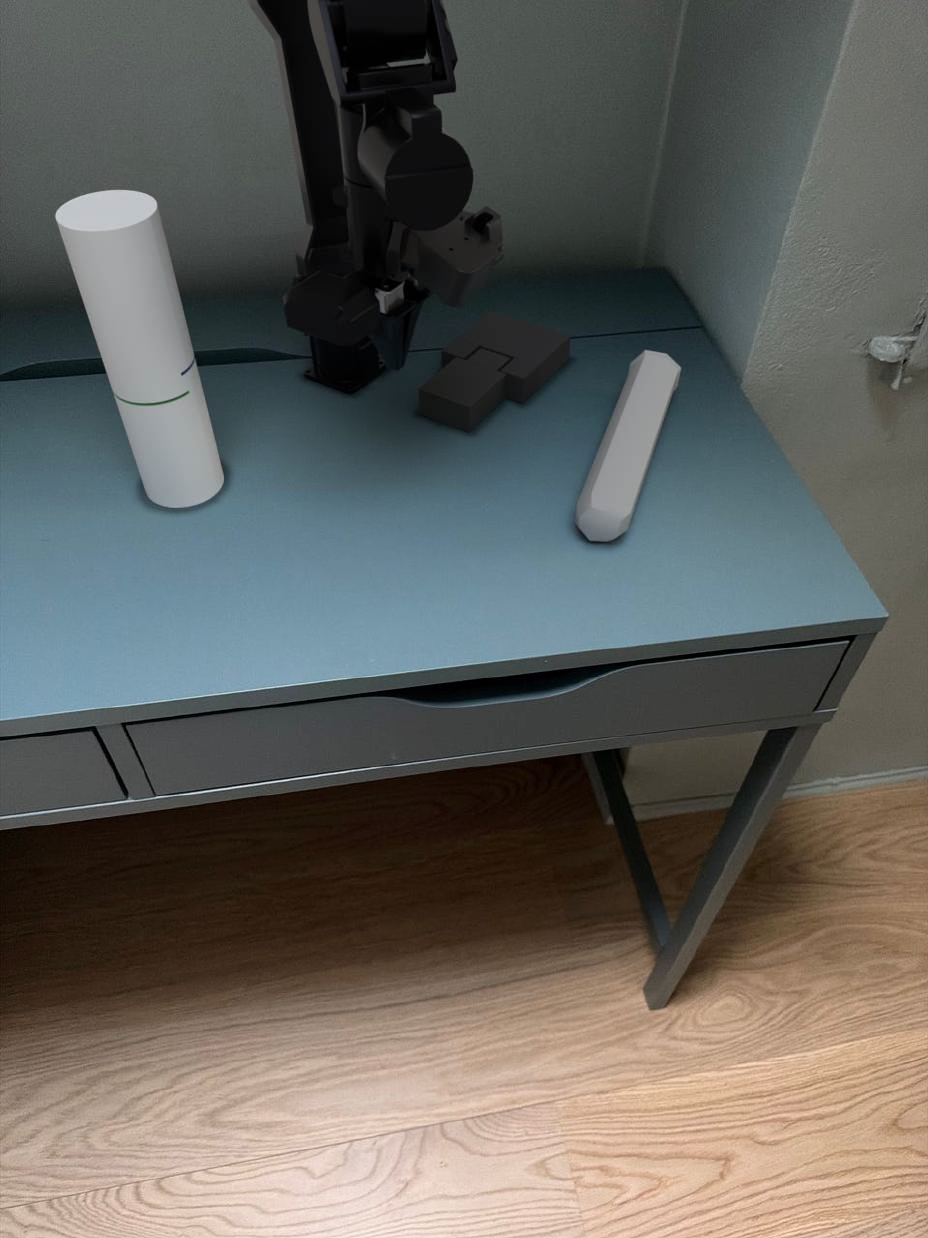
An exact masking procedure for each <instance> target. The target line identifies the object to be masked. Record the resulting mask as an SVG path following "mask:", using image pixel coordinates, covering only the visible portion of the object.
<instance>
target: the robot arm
mask: <svg viewBox="0 0 928 1238" xmlns="http://www.w3.org/2000/svg"><path fill="white" fill-rule="evenodd" d="M247 2H248V5H249V8H250V9H251V10H252V12H253V13H254V15H255V16H256V17H257V19H258V20H259V21H260V23H261V24H262V26H263V27H264V28H265V30H266V31H267V32H268V34H269V35H270V37H271V38H272V39H273V41H274V47H275V51H276V57H277V62H278V68H279V74H280V80H281V85H282V90H283V91H282V92H283V96H284V103H285V110H286V114H287V119H288V125H289V131H290V136H291V143H292V148H293V153H294V159H295V164H296V165H295V166H296V171H297V176H298V182H299V187H300V194H301V200H302V205H303V210H304V211H303V212H304V218H305V226H304V228H303V231H302V233H301V236H300V239H299V242H298V245H297V247H296V251H295V262H296V267H297V273H298V274H294V275H293V281H292V285H291V288H290V289H289V290H288V291H287V292H286V293H285V294H284V295H283V296H282V304H283V310H284V318H285V323H286V327H287V328H289V329H292V330H295V331H298V332H300V333H303V335H304V336H305V337H309V346H310V352H311V359H312V365H311V366H309V367H308V368H306V369H305V370H304V371H303V374H304V377H305V378H307V379H310V380H313V381H315V382H318V383H320V384H322V385H326V386H328V387H331V388H334V389H336V390H339V391H342V392H344V393H347V394H353V393H355V392H356V391H357V390H359V389H360V388H361V387H362V386H364V385H365V384H366V383H368V382H369V381H371V380H372V379H373V378H374V377H376V376H377V375H378V374H380V372H382V371H383V370H384V369H386V368H387V367H388V368H389V369H391V370H392V371H396V372H398V371H400V370H402V368H404V367H405V365H406V361H407V357H408V353H409V350H410V347H411V344H412V340H413V336H414V332H415V329H416V325H417V323H418V319H419V317H420V313H421V310H422V307H423V305H424V304H425V302H426V301H427V300H428V299H429V298H431V297H432V296H433V295H434V294H435V295H436V296H437V297H438V299H439V301H440V302H441V303H443V304H444V305H446V306H448V307H451V308H461V307H463V306H464V305H465V304H466V303H467V302H468V300H470V299H471V298H473V297H474V296H475V295H476V294H477V293H478V292H479V293H480V292H483V290H484V289H485V288H486V286H487V282H488V280H489V277H490V275H491V272H492V269H493V267H494V266H495V265H497V264H498V263H499V262H500V261H502V260H503V259H504V256H505V254H504V251H503V245H504V243H503V241H504V239H503V224H502V216H501V215H500V213H498V212H497V211H496V210H493V209H492V208H491V207H489V206H487V205H485V206H483V207H482V208H481V209H479V210H478V211H476V212H475V213H474V212H471V211H468V210H464V208H465V207H466V205H467V204H468V202H469V199H470V196H471V194H472V191H473V185H474V168H473V167H472V164H471V160H470V157H469V154H468V153H467V151H466V150H465V148H464V147H463V145H462V144H461V143H460V142H459V141H458V140H457V139H456V138H455V137H454V136H453V135H452V134H451V133H450V132H449V131H448V130H447V129H446V128H445V127H444V126H443V114H442V113H443V112H442V110H441V109H440V108H439V107H438V106H437V105H436V104H435V97H434V96H437V95H444V94H445V95H446V94H453V93H456V91H457V81H456V77H455V69H456V67H457V63H458V61H459V58H458V54H457V49H456V47H455V42H454V39H453V36H452V31H451V28H450V24H449V19H448V17H447V12H446V8H445V5H444V2H443V0H247ZM426 56H428V60H429V62H428V61H427V62H421V63H413V64H404V65H403V64H401V65H394V66H391V65H390V63H400V62H408V61H417V60H424V59H425V57H426ZM380 356H381V358H382V359H380Z"/></svg>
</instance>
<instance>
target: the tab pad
mask: <svg viewBox="0 0 928 1238" xmlns="http://www.w3.org/2000/svg"><path fill="white" fill-rule="evenodd" d="M508 363H510V358H509V357H506V356H503V355H500V354H497V353H494V352H491V351H487V350H484V349H481V348H480V349H479V350H478V351H477V352H476V353H475V354H473V355H472V356H471V357H470V358H469V359H467V360H464V359H461V358H458V357H456V358H455V359H454V360H452V361H451V362H450V363H449V364H448V365H446V366H445V367H444V368H443V369H442V368H441V369H440V370H439V371H438V372H437V373H435V374H434V375H432V377H431V378H429V379H427V381H426V382H425V383H423V384H422V385H420V387H418V390H417V391H418V411H419V415H421V416H423V417H426V418H429V419H432V420H434V421H436V422H440V423H443V424H445V425H447V426H450V427H453V428H455V429H458V430H461V431H464V432H467V433H471V432H472V431H473V430H474V429H475V428H476V427H477V426H479V424H481V422H482V421H484V419H485V418H487V417H488V416H489V415H490V414H491V413H493V411H494V410H496V408H498V406H500V405H501V404H502V403H503V402H504V401H505V400H506V398H505V392H506V374H505V373H502V372H500V371H501V370H502V369H503V368H504V367H505V366H506V365H507V364H508Z"/></svg>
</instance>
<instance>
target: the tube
mask: <svg viewBox="0 0 928 1238" xmlns="http://www.w3.org/2000/svg"><path fill="white" fill-rule="evenodd" d="M681 371H682V367H681V366H680V365H679V364H678V363H677V362H676V361H675V360H674V359H673V358H672V357H671V356H669V354H668V353H665V352H659V351H654V350H649V349H645V350H643V351H642V352H641V353H640V354H638V356H636V357H635V358H634V359H633V360H632V361H631V362H630V364H629V369H628V375H627V377H626V380H625V382H624V385H623V387H622V389H621V393H620V395H619V397H618V400H617V403H616V405H615V407H614V410H613V412H612V415H611V417H610V420H609V423H608V425H607V428H606V430H605V433H604V435H603V437H602V440H601V442H600V444H599V447H598V450H597V452H596V455H595V457H594V460H593V463H592V465H591V468H590V470H589V473H588V474H587V477H586V480H585V483H584V485H583V487H582V489H581V492H580V495H579V498H578V499H577V503H576V507H575V514H574V515H575V516H574V523H575V525H576V526H577V527H578V529H579V530H580V531H581V532H582V534H584V536H585V537H586V538H587V540H589V542H612V541H613V540H615V539H616V538H618V537H619V536H621V535H622V534H624V533H625V532H627V531H628V529H629V527H630V523H631V521H632V517H633V515H634V512H635V509H636V506H637V502H638V499H639V497H640V493H641V490H642V487H643V485H644V481H645V479H646V475H647V472H648V470H649V469H648V468H649V466H650V463H651V461H652V457H653V454H654V451H655V448H656V445H657V442H658V439H659V436H660V433H661V430H662V427H663V424H664V422H665V418H666V415H667V412H668V408H669V406H670V403H671V401H672V397H673V393H674V391H676V390H677V389H678V386H679V381H680V377H681Z"/></svg>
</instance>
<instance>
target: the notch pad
mask: <svg viewBox="0 0 928 1238" xmlns="http://www.w3.org/2000/svg"><path fill="white" fill-rule="evenodd" d="M571 338H572V336H571V334H567V333H565V332H562V331H558V330H556V329H552V328H550V327H549V328H548V327H547V326H542V325H540V324H536V323H534V322H530V321H527V320H523V319H520V318H517V317H514V316H511V315H507V314H505V313H501V312H497V311H495V310H489V311H488V312H487V313H486V314H484V315H483V316H482V317H481V318H479V319H478V320H477V321H475V322H474V323H473V324H472V325H471V326H470V327H468V328H467V329H465V330H464V332H462V333H461V334H459V335H458V336H457V337H456V338H454V339H453V340H452V341H451V342H450V343H448V344H447V345H445V347H443V348H442V349H441V351H440V357H441V358H440V359H441V361H440V362H441V370H442V369H443V368H444V367H445V366H446V365H448V364H449V363H450V362H451V361H452V360H454V359H455V358H456V357H458V358H461V359H464V360H467V359H469V358H470V357H471V356H472V355H473V354H475V353H476V352H477V351H478V350H479V349H480V348H481V349H484V350H487V351H491V352H494V353H497V354H500V355H503V356H506V357H509V358H510V363H508V364H507V365H506V366H505V367H504V368H503V369H502V370H501V371H500V372H502V373H505V374H506V392H505V399H508V400H510V401H512V402H516V403H519V404H521V405H524V404H525V403H526V402H527V401H528V400H529V399H530V398H531V397H532V396H533V395H534V394H535V393H536V392H537V391H538V390H539V389H540V388H541V387H542V386H543V385H544V384H545V383H546V382H548V381H549V379H550V378H551V377H553V376H554V374H555V373H557V372H558V371H559V370H560V369H561V368H562V367H563V366H564V365H565V364H566V363H568V361H569V359H570V358H569V357H570V348H571Z"/></svg>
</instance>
